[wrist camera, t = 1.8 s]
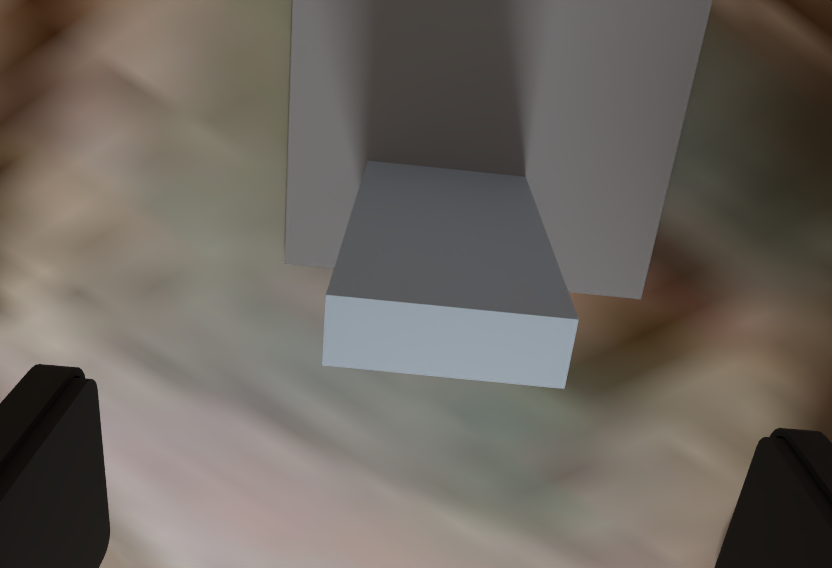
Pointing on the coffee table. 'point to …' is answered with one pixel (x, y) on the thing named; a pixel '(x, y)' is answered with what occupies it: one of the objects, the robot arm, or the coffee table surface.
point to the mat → (497, 114)
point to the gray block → (448, 280)
